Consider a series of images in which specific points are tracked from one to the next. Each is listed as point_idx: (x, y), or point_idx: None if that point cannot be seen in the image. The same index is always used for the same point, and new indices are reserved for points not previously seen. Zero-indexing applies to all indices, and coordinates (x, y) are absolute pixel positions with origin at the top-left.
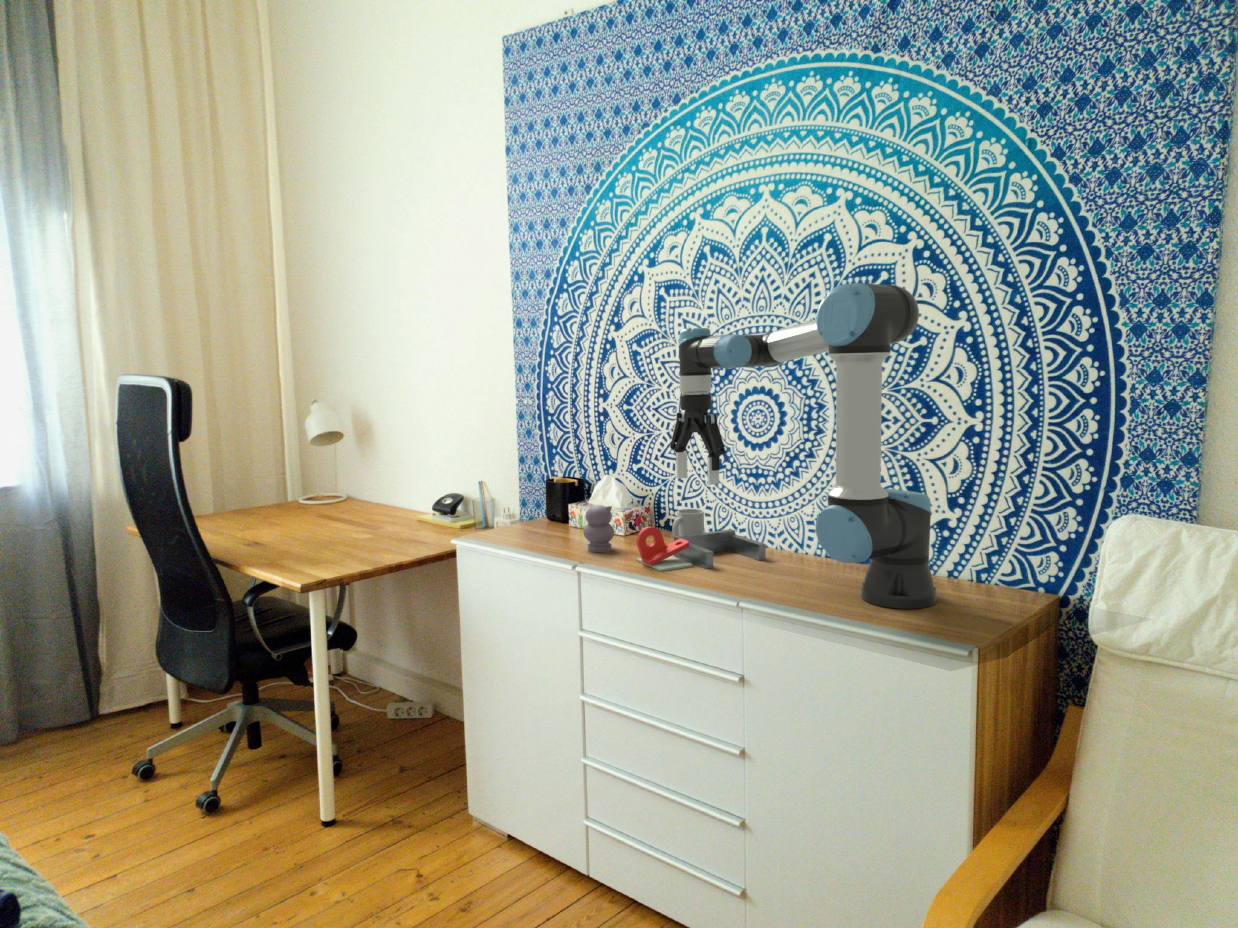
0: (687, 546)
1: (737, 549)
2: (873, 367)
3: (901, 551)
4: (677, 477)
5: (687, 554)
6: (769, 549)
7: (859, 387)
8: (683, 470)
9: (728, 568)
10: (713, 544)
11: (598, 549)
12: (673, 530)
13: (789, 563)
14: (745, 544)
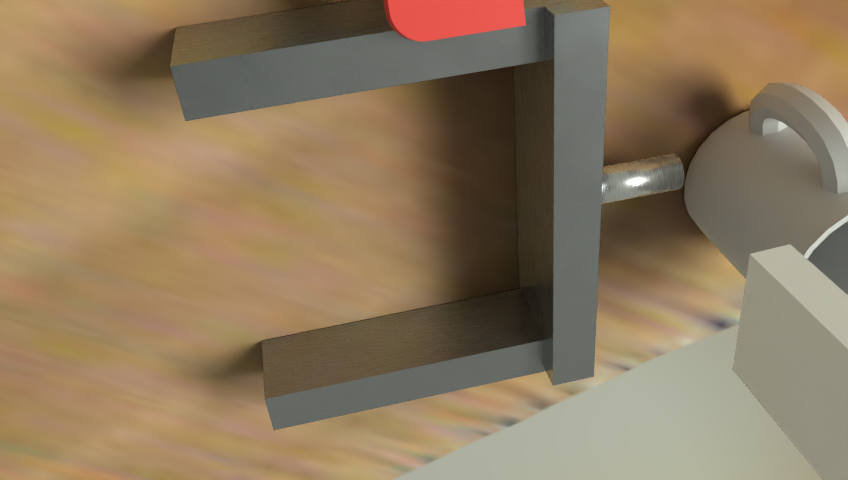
0: (385, 11)
1: (450, 315)
2: None
3: None
4: (780, 258)
5: None
6: (442, 437)
7: None
8: (805, 399)
9: (146, 150)
10: (532, 230)
11: None
12: (800, 93)
13: (160, 433)
14: (387, 356)
